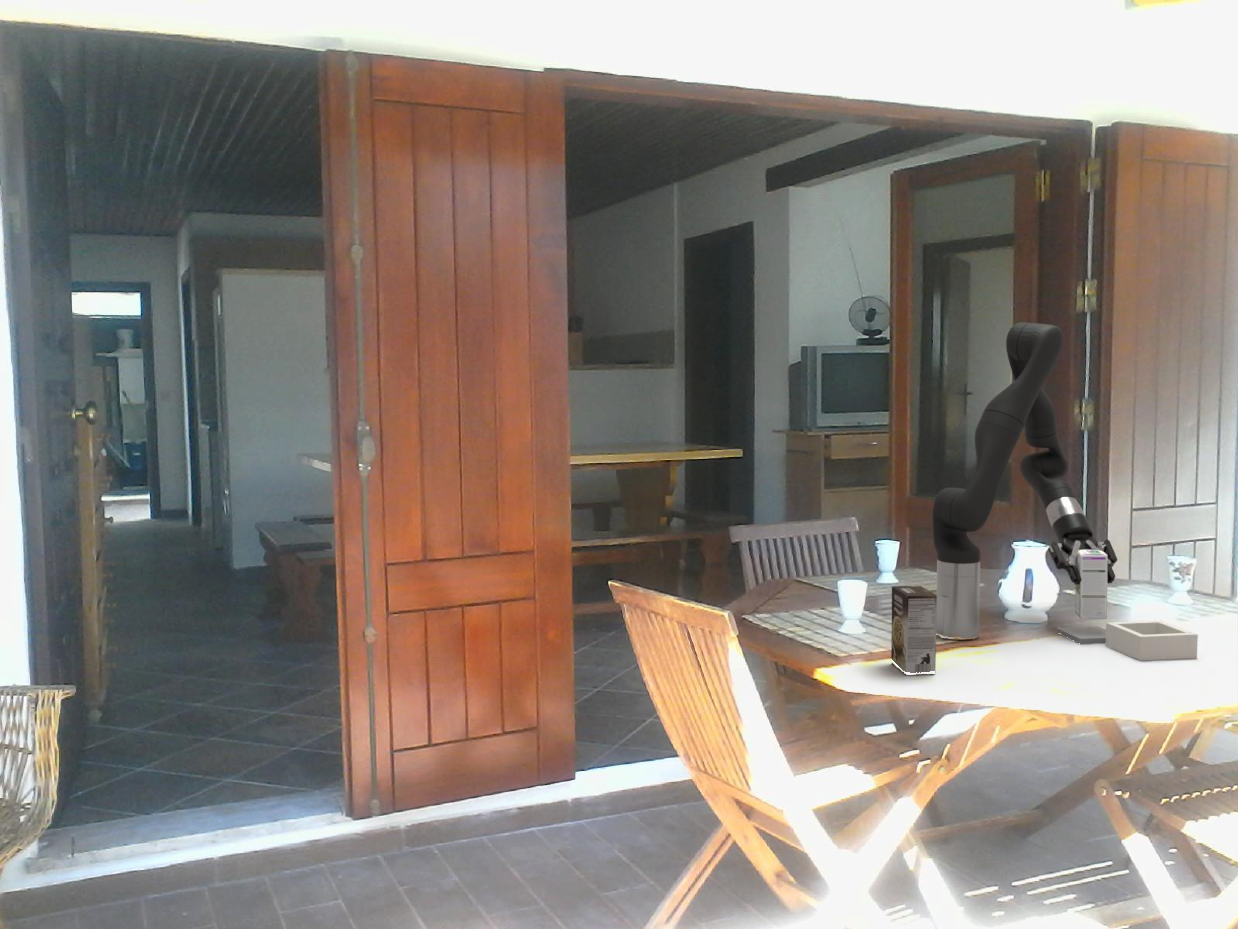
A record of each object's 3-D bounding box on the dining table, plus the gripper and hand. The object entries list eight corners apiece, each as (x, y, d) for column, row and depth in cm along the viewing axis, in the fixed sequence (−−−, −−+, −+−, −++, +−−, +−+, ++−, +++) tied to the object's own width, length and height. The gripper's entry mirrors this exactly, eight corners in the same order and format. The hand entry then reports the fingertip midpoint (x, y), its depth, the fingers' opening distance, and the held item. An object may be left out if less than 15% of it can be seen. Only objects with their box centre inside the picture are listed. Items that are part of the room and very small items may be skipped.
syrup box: (1107, 619, 237) (1109, 554, 236) (1078, 618, 238) (1080, 553, 237) (1101, 613, 243) (1103, 549, 241) (1073, 612, 244) (1075, 549, 242)
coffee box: (889, 663, 222) (890, 585, 220) (920, 662, 222) (921, 585, 221) (904, 676, 212) (905, 595, 211) (936, 675, 213) (938, 594, 212)
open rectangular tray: (1139, 660, 222) (1140, 636, 221) (1105, 645, 234) (1106, 622, 233) (1196, 658, 223) (1197, 634, 223) (1159, 643, 235) (1160, 620, 235)
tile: (1080, 644, 235) (1080, 638, 235) (1056, 633, 245) (1056, 628, 245) (1123, 642, 236) (1123, 637, 236) (1098, 631, 246) (1098, 626, 246)
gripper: (1044, 512, 245) (1070, 573, 234) (1104, 510, 246) (1133, 571, 236) (1032, 532, 251) (1057, 592, 240) (1091, 530, 252) (1118, 590, 242)
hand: (1095, 582), depth 238 cm, fingers closed on syrup box, 7 cm apart
